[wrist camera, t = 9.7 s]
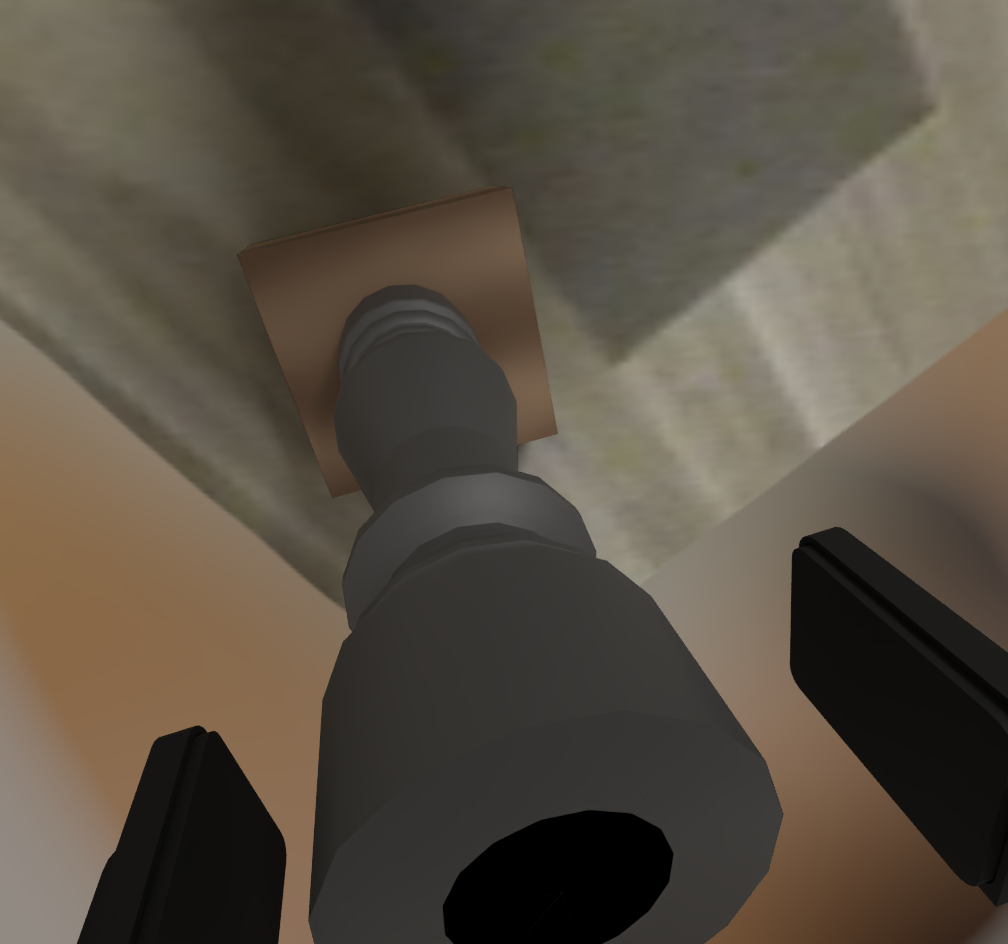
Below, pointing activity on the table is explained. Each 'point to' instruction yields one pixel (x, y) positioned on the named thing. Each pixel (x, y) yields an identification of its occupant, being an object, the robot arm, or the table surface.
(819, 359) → the table surface
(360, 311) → the candle holder
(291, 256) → the walnut plinth
